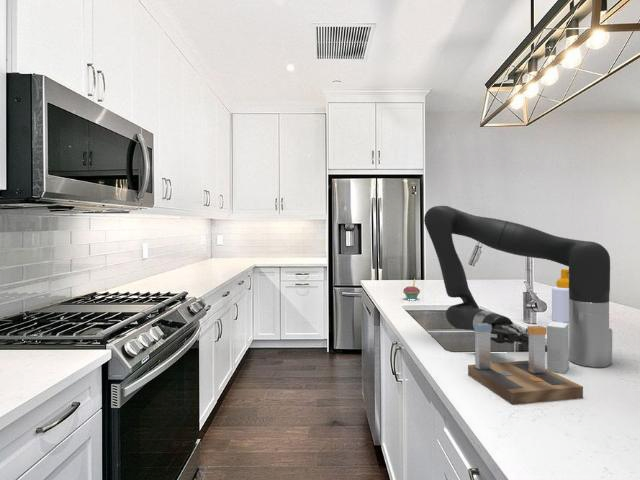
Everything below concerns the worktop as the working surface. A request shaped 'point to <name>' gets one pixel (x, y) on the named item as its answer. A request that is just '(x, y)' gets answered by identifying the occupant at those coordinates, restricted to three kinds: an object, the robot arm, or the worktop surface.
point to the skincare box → (557, 347)
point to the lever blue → (482, 345)
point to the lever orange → (536, 348)
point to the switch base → (525, 383)
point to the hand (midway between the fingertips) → (534, 342)
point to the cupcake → (411, 291)
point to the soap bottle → (561, 298)
